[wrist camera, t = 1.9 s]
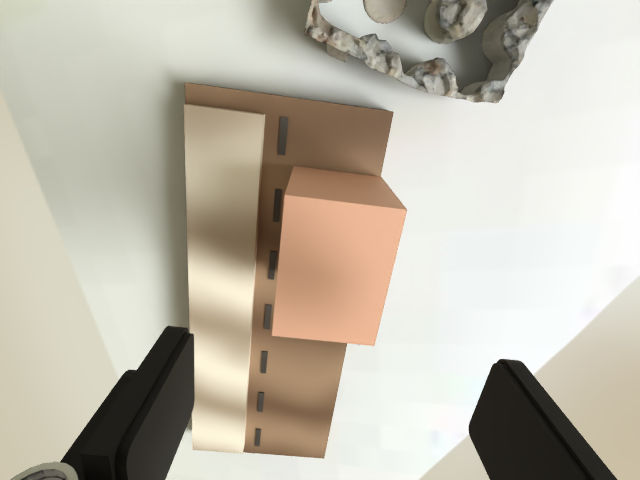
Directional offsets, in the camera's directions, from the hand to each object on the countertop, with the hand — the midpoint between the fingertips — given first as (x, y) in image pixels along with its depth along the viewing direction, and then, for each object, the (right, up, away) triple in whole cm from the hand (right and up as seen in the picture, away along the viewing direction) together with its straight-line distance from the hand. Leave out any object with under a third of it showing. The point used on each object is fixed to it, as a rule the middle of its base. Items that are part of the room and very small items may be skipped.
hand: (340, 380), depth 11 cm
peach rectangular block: (0, +5, +10) cm, 11 cm away
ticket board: (-4, 0, +14) cm, 15 cm away
